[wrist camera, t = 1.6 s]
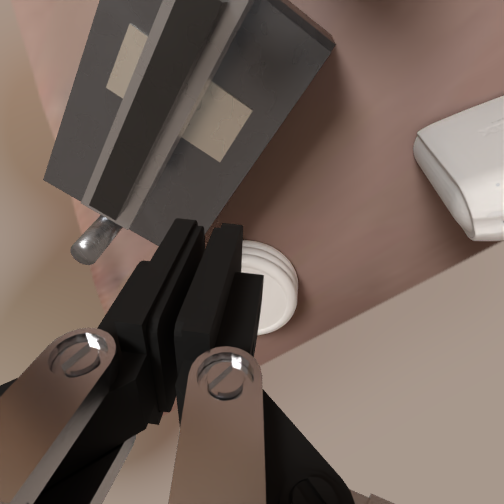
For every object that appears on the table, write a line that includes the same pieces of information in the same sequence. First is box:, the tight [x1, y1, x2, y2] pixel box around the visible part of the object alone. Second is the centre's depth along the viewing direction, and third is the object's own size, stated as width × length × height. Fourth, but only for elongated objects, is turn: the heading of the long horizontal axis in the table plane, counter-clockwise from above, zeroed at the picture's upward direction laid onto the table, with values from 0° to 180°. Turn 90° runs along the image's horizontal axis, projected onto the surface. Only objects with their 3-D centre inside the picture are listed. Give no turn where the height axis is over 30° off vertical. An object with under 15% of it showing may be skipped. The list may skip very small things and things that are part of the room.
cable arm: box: [81, 0, 254, 230], centre depth 19 cm, size 14×3×3 cm, turn 147°
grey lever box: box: [43, 0, 336, 265], centre depth 24 cm, size 18×12×12 cm, turn 147°
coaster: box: [241, 240, 298, 335], centre depth 37 cm, size 10×10×4 cm
